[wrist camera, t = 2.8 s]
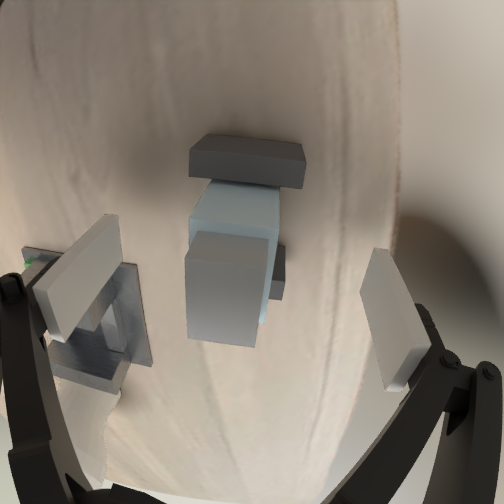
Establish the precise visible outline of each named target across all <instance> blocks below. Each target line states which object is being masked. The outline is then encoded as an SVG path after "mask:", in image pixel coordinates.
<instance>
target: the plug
mask: <svg viewBox="0 0 504 504" xmlns="http://www.w3.org/2000/svg"><path fill="white" fill-rule="evenodd" d="M279 229H280V186H273V185H265V184H257V183H248V182H239V181H230V180H220V179H212V180H211V182H210V184H209V185H208V187H207V189H206V190H205V192H204V194H203V195H202V197H201V199H200V200H199V202H198V204H197V205H196V207H195V209H194V211H193V212H192V214H191V216H190V217H189V250H188V252H187V254H186V256H185V288H186V313H187V333H188V338H190V339H196V340H202V341H209V342H216V343H223V344H230V345H237V346H245V347H253V348H255V342H256V336H257V329H258V323H259V324H264V322H265V316H266V310H267V304H268V298H269V292H270V286H271V280H272V274H273V268H274V261H275V255H276V249H277V242H278V236H279Z"/></svg>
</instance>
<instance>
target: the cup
mask: <svg viewBox="0 0 504 504" xmlns="http://www.w3.org/2000/svg"><path fill="white" fill-rule="evenodd" d="M57 395H58V399H59V402H60V406H61V410H62V413H63V416H64V420H65V423H66V426H67V429H68V432H69V435H70V438H71V441H72V444H73V447H74V450H75V453H76V455H77V458H78V461H79V463H80V466H81V468H82V471H83V473H84V475H85V476H86V478H87V480H88V481H89V483H90V484H91V486H92V488H93V490H96V489H100V488H101V487H102V484H103V481H104V478H105V474H106V455H107V451H106V446H105V440H104V432H105V427H106V423H107V418H108V416H109V415H110V413H111V412H112V410H113V409H114V407H115V405H116V404H117V402H118V400H119V398H120V397H121V392H120V390H119V393H118V395H114V394H111V393H107V392H104V391H100V390H97V389H94V388H90V387H87V386H84V385H81V384H78V383H75V382H72V381H69V380H66V379H63V378H62V380H61V383H60V386H59V389H58V391H57Z"/></svg>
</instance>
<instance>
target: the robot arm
mask: <svg viewBox="0 0 504 504" xmlns="http://www.w3.org/2000/svg"><path fill="white" fill-rule="evenodd" d="M1 1H2V0H0V3H1ZM122 261H123V256H122V248H121V240H120V231H119V221H118V215H111V214H105V215H104V216H103V217H102V218H101V219H100V220H98V221H97V222H96V223H95V224H94V225H93V226H92V227H91V228H90V229H89V230H88V231H87V232H86V233H85V234H84V235H83V236H82V237H81V238H79V239H78V240H77V241H76V242H75V243H74V244H73V245H72V246H71V247H70V248H69V249H68V250H67V251H66V252H65V253H64V254H63V255H62V256H58V257H56V258H54V259H53V260H51V261H49V262H48V264H47V265H46V266H45V267H44V269H42V270H41V271H40V272H39V274H37V275H36V276H35V277H34V278H33V279H32V280H31V281H30V282H29V283H28V285H27V286H26V287H25V286H24V283H23V280H22V277H21V275H20V274H18V273H8V274H6V275H3V276H2V277H0V392H1V385H2V379H3V384H4V393H5V401H6V409H7V416H8V422H9V428H10V433H11V438H12V443H13V449H12V450H9V452H8V458H9V464H10V469H11V473H12V477H13V480H14V484H15V487H16V491H17V494H18V498H19V501H20V504H166V503H164V502H162V501H160V500H158V499H156V498H154V497H152V496H150V495H148V494H146V493H144V492H140V491H137V490H134V489H130V488H127V487H124V486H121V485H118V484H114V483H113V485H112V488H111V489H96V490H93V488H92V486H91V484H90V483H89V481H88V480H87V478H86V476H85V475H84V473H83V471H82V468H81V466H80V463H79V461H78V458H77V455H76V453H75V450H74V447H73V444H72V441H71V438H70V435H69V432H68V429H67V426H66V423H65V420H64V416H63V413H62V410H61V406H60V402H59V399H58V395H57V391H56V387H55V383H54V379H53V375H52V370H51V366H50V361H49V356H48V351H47V346H46V340H45V338H44V336H43V334H44V333H45V331H46V330H47V329H48V332H49V334H50V337H51V339H54V340H57V341H60V342H63V343H65V342H66V341H67V339H68V338H69V336H70V334H71V333H72V331H73V330H74V328H75V327H76V325H77V324H78V322H79V321H80V319H81V318H82V316H83V315H84V314H85V312H86V311H87V309H88V308H89V306H90V305H91V303H92V302H93V301H94V299H95V298H96V296H97V295H98V293H99V292H100V291H101V289H102V288H103V286H104V285H105V284H106V282H107V281H108V280H109V278H110V277H111V275H112V274H113V273H114V271H115V270H116V269H117V267H118V266H119V265H120V263H121V262H122ZM360 295H361V298H362V302H363V305H364V309H365V312H366V316H367V320H368V323H369V327H370V331H371V335H372V339H373V343H374V347H375V351H376V355H377V359H378V363H379V367H380V371H381V376H382V381H383V385H384V389H385V391H402V390H403V388H404V387H405V385H406V384H407V382H408V385H409V388H410V391H409V392H408V393H407V395H406V396H405V397H404V399H403V400H402V401H401V403H400V404H399V407H398V408H397V410H396V411H395V413H394V414H393V416H392V417H391V419H390V420H389V421H388V423H387V424H386V426H385V427H384V428H383V430H382V431H381V432H380V434H379V435H378V437H377V438H376V439H375V441H374V442H373V443H372V444H371V446H370V447H369V448H368V450H367V451H366V452H365V453H364V455H363V456H362V458H360V460H359V461H358V462H357V463H356V465H355V466H354V467H353V468H352V470H351V471H350V472H349V473H348V474H347V475H346V476H345V478H344V479H343V480H342V481H341V482H340V483H339V484H338V486H337V487H336V488H335V489H334V490H333V491H332V492H331V493H330V494H329V495H328V496H327V497H326V499H325V500H324V501H323V502H322V503H321V504H388V503H389V501H390V500H391V498H392V497H393V496H394V494H395V493H396V491H397V489H398V488H399V487H400V485H401V484H402V482H403V481H404V479H405V478H406V476H407V474H408V473H409V471H410V470H411V468H412V467H413V465H414V463H415V462H416V460H417V458H418V457H419V455H420V453H421V451H422V450H423V448H424V446H425V444H426V442H427V441H428V439H429V437H430V435H431V433H432V431H433V430H434V428H435V426H436V424H437V422H438V420H439V418H440V416H441V414H442V412H443V411H444V412H445V416H444V421H443V427H442V432H441V437H440V441H439V446H438V450H437V455H436V459H435V463H434V467H433V470H432V474H431V478H430V481H429V485H428V488H427V491H426V495H425V498H424V501H423V504H494V499H495V492H496V487H497V480H498V472H499V462H500V452H501V438H502V376H501V372H500V371H499V369H498V368H497V367H496V366H495V365H494V364H492V363H491V362H488V361H483V362H480V363H479V364H478V366H477V367H476V368H475V369H474V368H471V367H467V366H464V365H462V364H461V361H460V359H459V358H458V357H457V355H455V354H454V353H453V352H451V351H449V350H446V349H445V347H444V345H443V342H442V340H441V338H440V335H439V333H438V331H437V329H436V328H435V324H434V322H433V321H432V318H431V316H430V314H429V312H428V311H427V310H426V309H425V307H424V306H423V305H422V304H416V303H413V301H412V298H411V296H410V294H409V292H408V290H407V288H406V285H405V283H404V281H403V279H402V278H401V275H400V273H399V271H398V269H397V267H396V265H395V263H394V261H393V259H392V257H391V255H390V253H389V251H388V249H381V248H374V249H373V252H372V255H371V259H370V262H369V265H368V268H367V271H366V274H365V277H364V280H363V283H362V286H361V289H360Z"/></svg>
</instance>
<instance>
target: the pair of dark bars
mask: <svg viewBox="0 0 504 504" xmlns="http://www.w3.org/2000/svg"><path fill="white" fill-rule="evenodd" d="M305 168H306V159H305V156H304V152H303V149H302V145H301V144H295V143H287V142H280V141H272V140H264V139H255V138H245V137H235V136H223V135H211V134H207V135H206V136H204V137H203V138H202V139H201V140H200V141H199V142H198V143H196V144H195V145H194V146H193V147H192V148H191V149H190V154H189V177H199V178H210V179H220V180H230V181H239V182H248V183H257V184H265V185H273V186H281V187H289V188H296V189H302V186H303V180H304V174H305ZM284 286H285V246H278V245H277V249H276V255H275V261H274V268H273V274H272V280H271V286H270V292H269V298H268V299H274V300H282V296H283V291H284Z"/></svg>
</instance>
